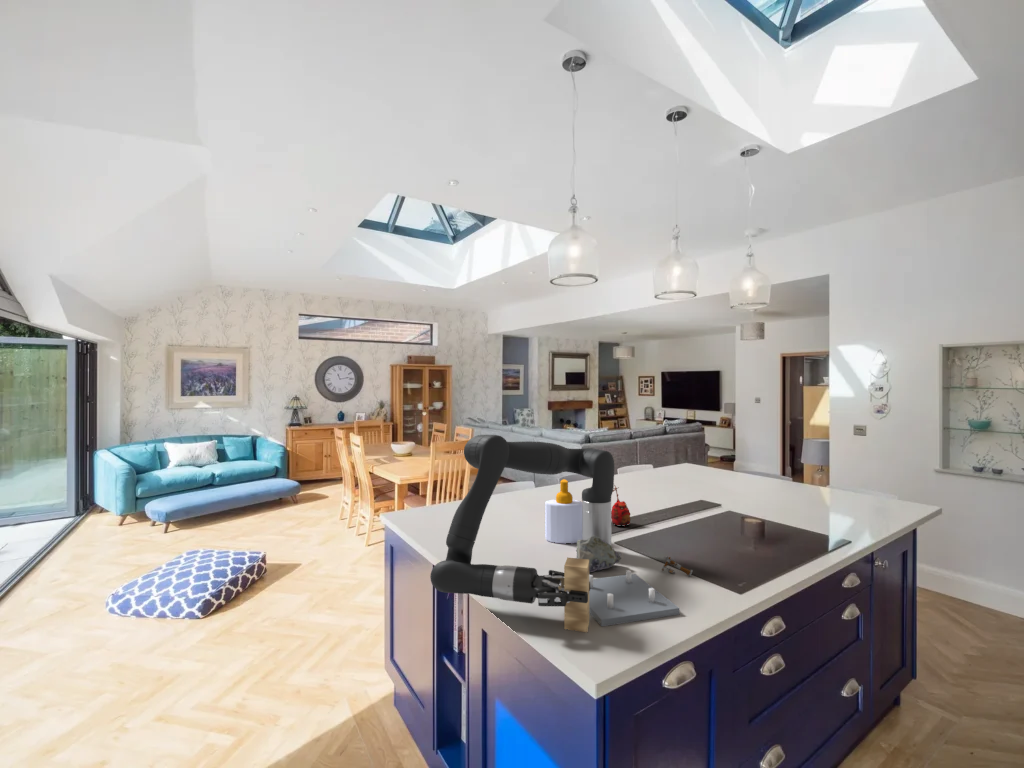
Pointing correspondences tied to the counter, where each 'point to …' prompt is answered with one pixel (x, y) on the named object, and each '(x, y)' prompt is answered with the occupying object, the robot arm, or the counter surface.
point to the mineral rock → (597, 553)
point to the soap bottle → (563, 517)
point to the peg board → (626, 600)
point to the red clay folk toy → (620, 512)
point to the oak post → (578, 581)
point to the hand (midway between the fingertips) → (588, 591)
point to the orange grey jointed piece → (676, 567)
